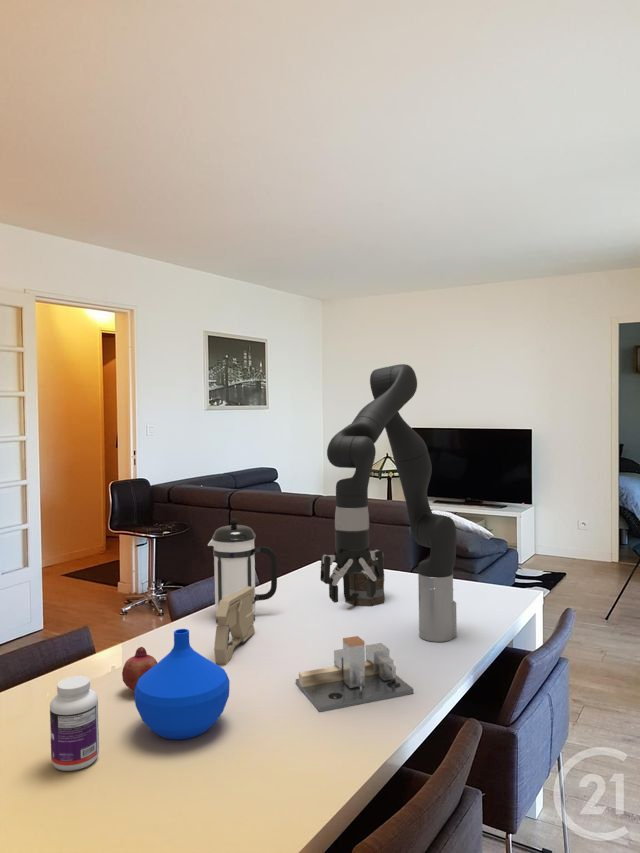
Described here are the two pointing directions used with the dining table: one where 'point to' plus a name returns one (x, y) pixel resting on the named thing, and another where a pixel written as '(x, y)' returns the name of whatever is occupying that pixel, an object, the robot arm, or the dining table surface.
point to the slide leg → (351, 661)
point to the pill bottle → (74, 724)
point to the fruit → (137, 667)
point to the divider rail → (328, 675)
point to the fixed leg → (381, 661)
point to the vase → (182, 692)
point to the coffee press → (238, 562)
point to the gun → (233, 623)
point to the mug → (362, 588)
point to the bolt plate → (354, 692)
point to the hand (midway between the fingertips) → (352, 599)
